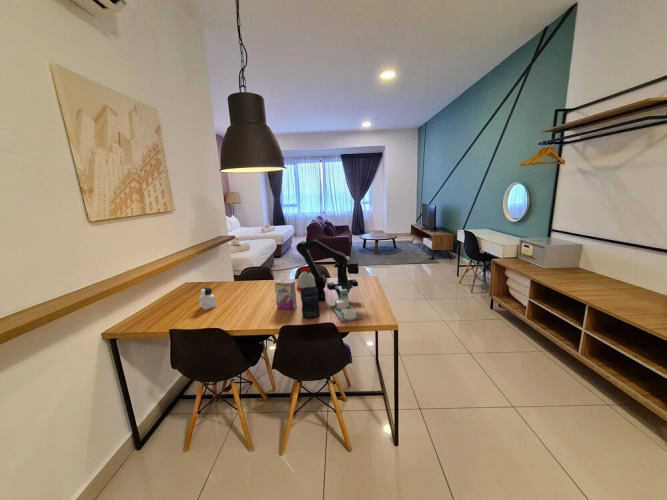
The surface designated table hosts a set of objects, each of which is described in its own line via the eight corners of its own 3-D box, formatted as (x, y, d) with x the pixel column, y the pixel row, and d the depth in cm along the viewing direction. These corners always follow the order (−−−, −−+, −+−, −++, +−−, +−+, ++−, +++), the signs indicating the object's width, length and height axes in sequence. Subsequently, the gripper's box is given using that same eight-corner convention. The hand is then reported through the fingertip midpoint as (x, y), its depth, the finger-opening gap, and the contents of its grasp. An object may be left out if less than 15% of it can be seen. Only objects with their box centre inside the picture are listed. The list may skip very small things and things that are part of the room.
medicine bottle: (212, 303, 173) (209, 285, 171) (216, 306, 168) (213, 288, 166) (200, 307, 168) (197, 289, 166) (204, 310, 163) (201, 291, 161)
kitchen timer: (310, 291, 186) (308, 270, 183) (293, 289, 192) (291, 268, 188) (319, 284, 198) (318, 265, 195) (303, 282, 204) (302, 263, 201)
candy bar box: (276, 308, 161) (274, 282, 157) (280, 305, 166) (278, 279, 162) (293, 310, 157) (291, 284, 154) (297, 306, 162) (295, 281, 158)
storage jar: (309, 310, 157) (307, 285, 154) (323, 313, 152) (321, 288, 149) (298, 317, 149) (296, 292, 145) (313, 321, 144) (311, 294, 140)
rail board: (341, 322, 140) (340, 314, 139) (331, 307, 159) (331, 300, 158) (361, 319, 143) (360, 311, 142) (349, 304, 162) (349, 297, 161)
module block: (341, 302, 165) (340, 291, 163) (338, 298, 172) (337, 287, 170) (348, 301, 166) (347, 290, 164) (344, 297, 173) (344, 286, 171)
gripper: (330, 279, 155) (331, 304, 159) (361, 275, 160) (361, 300, 163) (326, 274, 166) (327, 297, 169) (354, 270, 170) (355, 293, 174)
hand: (343, 297), depth 169 cm, fingers closed on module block, 4 cm apart
